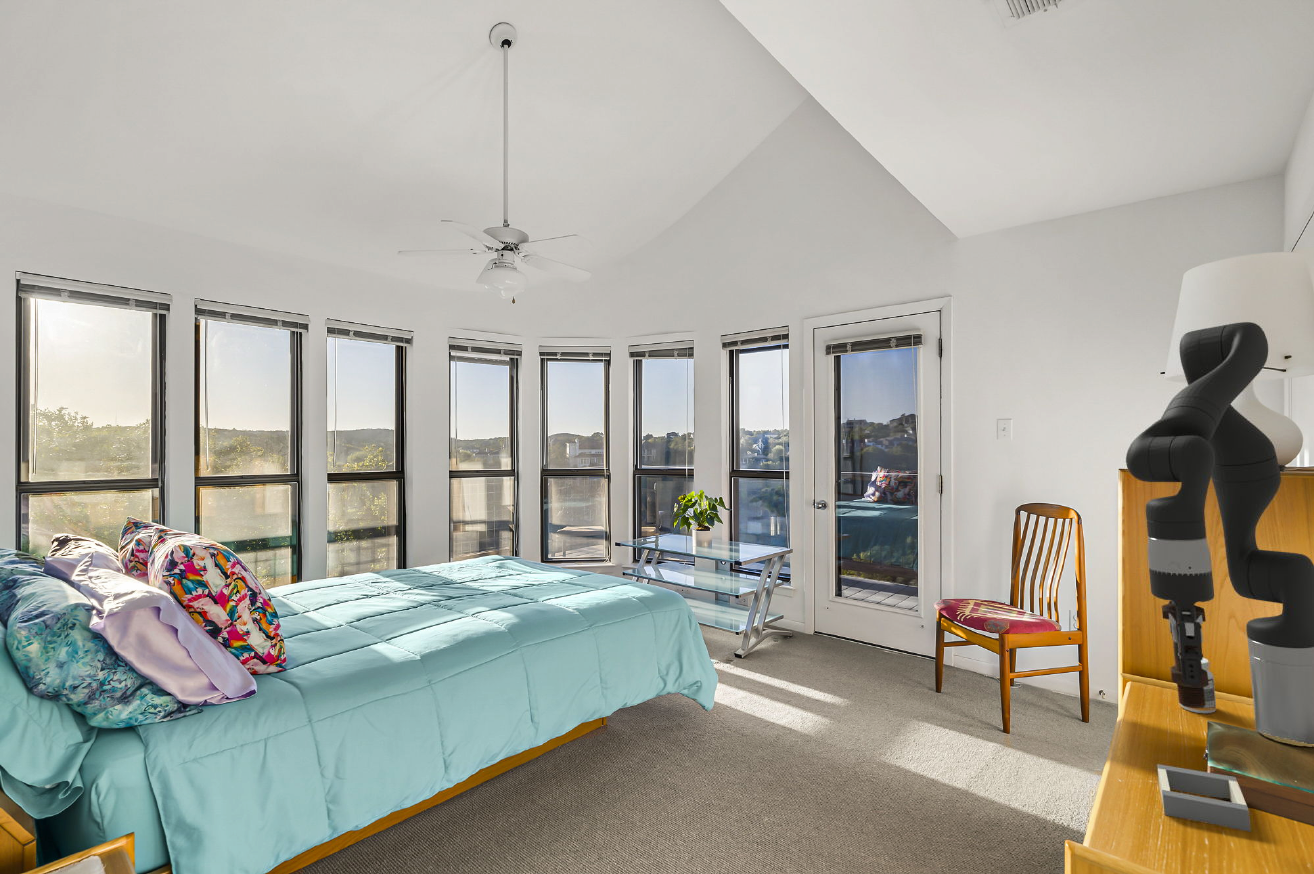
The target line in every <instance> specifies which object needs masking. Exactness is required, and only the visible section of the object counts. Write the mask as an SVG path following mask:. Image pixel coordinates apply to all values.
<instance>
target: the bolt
mask: <svg viewBox="0 0 1314 874" xmlns="http://www.w3.org/2000/svg"><path fill="white" fill-rule="evenodd" d="M1194 606H1195V612H1196V620H1197V619H1198V618H1199V616H1200V615H1202V620H1203V623H1205V622H1207V621H1206V612H1205V608H1203V607H1201V606H1198V605H1195V604H1194ZM1161 612H1162V619H1164V620H1168V621H1169V613H1170V614H1171V615H1172V617H1173V618H1174V620H1175V621H1177V619H1176V610H1175V608H1174V606H1173V604H1172V603H1171V604H1168V603H1166V604H1163V605H1161ZM1170 627H1171V630H1172V625H1171V623H1170ZM1170 627H1169V628H1170ZM1176 627H1177V625H1176ZM1177 634H1178V631H1177ZM1172 635H1173V634H1171V637H1172V644H1173V645H1172V646H1173V647H1172V648H1173V655H1174V656H1173V658H1174V665H1173V666H1171V667H1170V675H1171V681H1172V682H1173V683H1174V684H1176V685H1177V687H1176V689H1177V693H1178V694H1177V698H1178V703H1179V705H1180V704H1181V705H1183V706H1185V707H1190V708H1203V707H1204V706H1205V705H1206V704H1205V697H1204V696H1205V695H1204V694H1205V693H1204V688H1203V687H1206V686H1208V685H1209V682H1208V674H1207V671H1205V670H1204V669H1202V666H1201V665H1202V664H1201V661H1200V668H1201V679H1202V684H1201V685H1189V684H1185V683H1184V682H1183V680H1182V671H1181V661H1180V657H1179V656H1178V653H1179V649H1178V643H1177V642H1175V641H1174V640H1173V636H1172ZM1178 636H1179V635H1178ZM1184 648H1185V650H1189V651H1195V646H1189V645H1186V646H1185V647H1184ZM1181 705H1180V706H1181Z"/></svg>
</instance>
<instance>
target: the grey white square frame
mask: <svg viewBox="0 0 1314 874" xmlns="http://www.w3.org/2000/svg"><path fill="white" fill-rule="evenodd" d="M1156 766H1157V769H1156V770H1157V778H1158V779H1157V780H1158V785H1159V786H1158V787H1159V791H1160V797H1161V801H1162V806H1163V808H1162V809H1163V811H1164V815H1165V816H1170V817H1174V818H1180V819H1184V820H1189V819H1190V820H1189V821H1194V820H1196V821H1195V822H1199V821H1202V822H1201V823H1204V822H1207V823H1206V824H1209V823H1210V824H1209V825H1214V824H1217V825H1216V826H1219V825H1221V826H1220V827H1224V826H1227V827H1226V828H1230V829H1234V830H1241V831H1246V832H1250V833H1251V832H1252V831H1251V821H1250V819H1251V818H1250V811H1249V808H1248V805H1247V802H1246V801H1245V800H1246V799H1245V798H1244V795H1243V792H1242V790H1241V787H1240V785H1239V783H1238V781H1237V780H1238V779H1237V778H1236V777H1235V776H1231V775H1230V776H1229V775H1225V774H1220V773H1212V772H1209V771H1200V770H1196V769H1195V770H1193V769H1189V768H1182V767H1177V766H1176V767H1175V766H1170V765H1165V764H1164V765H1163V764H1159V763H1157V764H1156ZM1171 790H1174V791H1171ZM1177 791H1179V792H1177ZM1181 792H1185V793H1181ZM1188 793H1189V794H1188ZM1193 794H1196V795H1193ZM1198 795H1199V796H1198ZM1200 795H1202V796H1200ZM1203 796H1205V797H1203ZM1208 797H1209V798H1208ZM1210 797H1211V798H1210ZM1228 797H1229V798H1230V800H1229V801H1226V800H1225V801H1224V800H1221V799H1223V798H1228ZM1216 798H1217V799H1216ZM1185 818H1186V819H1185Z"/></svg>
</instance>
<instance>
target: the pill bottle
mask: <svg viewBox="0 0 1314 874" xmlns="http://www.w3.org/2000/svg"><path fill="white" fill-rule="evenodd" d="M1201 664H1202V665H1201V666H1202V669H1204V670H1205V671H1207V674H1208V682H1209V685H1208V686H1206V687H1203V688H1204V693H1205V694H1204V695H1205V696H1204V697H1205V704H1206V705H1205V706H1204V707H1203V708H1190V707H1185V706H1183V705H1181V704H1180V703H1179V705H1180V707H1181V708H1183V709H1184V710H1187V711H1188V712H1192V713H1196V714H1197V713H1198V714H1213V713H1214V712H1215V711H1217V700H1216V691H1215V679H1214V678H1215V677H1214V674H1213V673H1212V672H1211V671H1210V670H1209V668H1210V661H1209V660H1208V659H1207V658H1205V657H1203V658H1202V660H1201Z"/></svg>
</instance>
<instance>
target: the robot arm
mask: <svg viewBox="0 0 1314 874" xmlns="http://www.w3.org/2000/svg"><path fill="white" fill-rule="evenodd" d="M1179 341H1180V342H1179V347H1178V348H1179V350H1178V351H1179V356H1180V357H1179V358H1180V363H1181V366H1182V370H1183V373H1184V377H1185V381H1186V384H1187V386H1185V387H1184V388H1183V389H1181V390H1180V391H1179V392H1177V394H1175V395H1174V397H1173V398H1171V400H1170V402H1169V403H1168V406H1167V407H1166V409H1165V410H1164V411H1163V414H1162V416H1161V418H1160V419H1158V420H1157V421H1155V422H1154V423H1152V424H1151V425H1150V426H1148V427H1147V428H1146V429H1145V430H1144V431H1143V432H1141V433H1140V434H1138V435H1137V436H1136V438H1134V439H1133V441H1132V442H1131V443H1130V445H1129V447H1128V449H1127V452H1126V456H1125V463H1126V469H1127V470H1128V472H1129V473H1130V475H1131V476H1132V477H1133V478H1135V479H1136V480H1138V481H1141V482H1144V483H1145V482H1146V483H1181V485H1180V488H1179V490H1178V492H1177V493H1176V494H1174V495H1169V496H1163V497H1157V498H1156V497H1155V498H1153V499H1150V500H1149V501H1147V502H1146V505H1145V519H1146V529H1147V561H1148V572H1149V573H1148V574H1149V584H1150V593H1151V595H1153V596H1154V597H1155V598H1157V599H1160V600H1164V601H1168V603H1167V604H1171V603H1172V604H1173V606H1174V608H1175V610H1176V619H1177V621H1175V620H1174V618H1173V617H1172V615H1171V614H1170V613H1169V620H1168V626H1169V631H1170V632H1169V633H1170V634H1171V637H1172V636H1173V637H1172V638H1173V639H1172V641H1173V640H1174V641H1175V642H1177V643H1178V649H1179V653H1178V656H1179V657H1180V661H1181V671H1182V680H1183V682H1184V683H1185V684H1189V685H1201V684H1202V679H1201V668H1200V661H1201V660H1202V658H1204V654H1203V648H1202V647H1203V646H1202V645H1203V643H1204V638H1203V630H1202V627H1203V626H1202V624H1203V623H1204V622H1203V620H1202V615H1200V616H1199V618H1198V619H1197V620H1196V612H1195V606H1196V605H1195V604H1196V603H1199V602H1200V603H1206V602H1210V601H1212V600H1213V599H1214V598H1215V589H1214V577H1213V567H1212V557H1211V550H1210V547H1209V542H1208V539H1207V528H1206V520H1205V519H1206V518H1205V517H1206V516H1205V511H1206V510H1205V507H1206V501H1207V495H1208V489H1209V486H1210V481H1212V484H1213V488H1214V491H1215V496H1216V500H1217V505H1218V509H1219V513H1220V518H1221V522H1222V523H1221V524H1222V530H1223V539H1224V547H1225V555H1226V564H1227V571H1228V576H1229V577H1228V578H1229V580H1230V584H1231V586H1232V588H1233V590H1234V591H1235V593H1237V594H1238V596H1240V597H1242V598H1244V599H1249V600H1255V601H1262V602H1269V603H1274V604H1275V603H1277V604H1281V605H1282V611H1281V614H1278V615H1274V616H1264V617H1257V618H1254V619H1251V620H1248V621H1247V623H1246V625H1245V626H1246V638H1247V648H1248V649H1247V650H1248V658H1249V668H1250V680H1251V690H1252V700H1253V701H1252V702H1253V712H1254V714H1253V715H1254V723H1255V731H1256V732H1257V731H1258V732H1261V733H1266V734H1270V735H1272V736H1278V737H1280V738H1287V739H1290V740H1295V741H1298V742H1304V743H1307V744H1314V562H1313V560H1312V559H1311V558H1310V557H1309V556H1307V555H1305V554H1302V553H1298V552H1297V553H1296V552H1289V551H1288V552H1287V551H1278V550H1276V551H1275V550H1265V549H1259V547H1258V544H1257V538H1256V530H1257V526H1258V523H1259V521H1260V519H1261V517H1262V515H1263V513H1264V512H1265V511H1266V510H1267V508H1268V506H1270V504H1271V503H1272V501H1273V499H1274V497H1275V496H1276V494H1277V493H1278V492H1279V489H1280V486H1281V483H1282V475H1281V470H1280V469H1281V468H1280V466H1279V465H1280V464H1279V460H1278V456H1277V452H1276V448H1275V446H1274V443H1273V442H1272V441H1271V439H1270V438H1269V437H1268V436H1267V435H1266V434H1265V433H1264V432H1263V431H1262V430H1261V429H1259V428H1258V427H1257V426H1256V425H1255V424H1253V422H1251V421H1250V420H1248V418H1246V417H1245V416H1243V415H1242V413H1241V412H1239V411H1238V410H1237V409H1236V408H1235V407H1234V406H1233V405H1232V403H1233V401H1235V400H1236V398H1237V397H1238V396H1240V394H1241V393H1242V392H1244V390H1245V389H1246V388H1248V386H1249V385H1250V384H1251V382H1252V381H1253V380H1254V379H1255V378H1256V377H1257V376H1258V375H1259V374H1260V372H1262V370H1263V368H1264V367H1265V365H1266V363H1267V361H1268V356H1269V342H1268V338H1267V336H1266V333H1265V330H1263V328H1262V327H1261V326H1260V325H1259V324H1257V323H1256V322H1251V321H1245V322H1244V321H1243V322H1234V323H1229V324H1224V325H1218V326H1212V327H1208V328H1202V329H1196V330H1191V331H1188V332H1186V333H1184V334H1183V336H1181V338H1180V340H1179ZM1194 605H1195V606H1194ZM1170 623H1171V625H1172V630H1171V627H1170ZM1176 625H1177V627H1176ZM1177 631H1178V634H1177ZM1172 634H1173V635H1172ZM1178 635H1179V636H1178ZM1186 645H1189V646H1195V651H1189V650H1185V648H1184V647H1185V646H1186ZM1258 732H1257V733H1258Z"/></svg>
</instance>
